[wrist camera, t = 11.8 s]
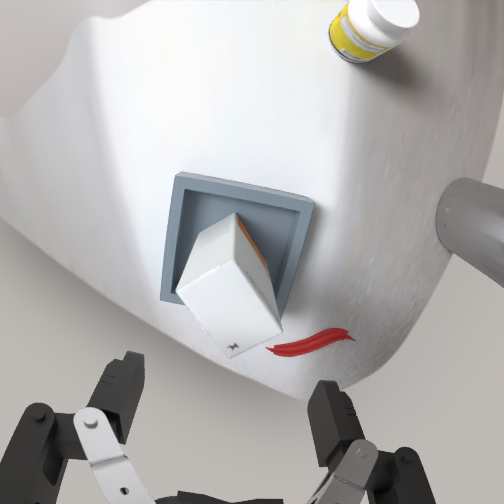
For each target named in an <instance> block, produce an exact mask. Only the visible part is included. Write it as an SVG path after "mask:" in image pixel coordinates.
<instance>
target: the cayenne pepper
mask: <svg viewBox="0 0 504 504" xmlns="http://www.w3.org/2000/svg"><path fill="white" fill-rule="evenodd" d="M347 333H348V331H346V330H344V329H339V328H331V329H327V330H324V331H322V332H319V333H317V334H315V335H313V336H311V337H309V338H307V339H304V340H300V341H297V342H293V343H288V344H281V345H274V347H275V348H267V347H266V348H267V349H268V350H270V351H271V352H273V353H274V354H275V355H278V356H284V357H292V356H298V355H302V354H306V353H309V352H312V351H314V350H317V349H319V348H321V347H324V346H326V345H328V344H331V343H333V342H335V341H339V340H344V339H351V340H354V339H353V338H351V337H350V336H348V335H347ZM354 341H355V340H354Z"/></svg>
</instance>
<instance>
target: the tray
mask: <svg viewBox="0 0 504 504" xmlns="http://www.w3.org/2000/svg"><path fill="white" fill-rule="evenodd" d="M313 207H314V202H313V201H312V200H310V199H309V198H308V197H306V196H302V195H298V194H293V193H289V192H284V191H280V190H275V189H271V188H266V187H261V186H256V185H251V184H246V183H241V182H236V181H231V180H226V179H221V178H215V177H210V176H204V175H198V174H192V173H186V172H180V173H178V174H176V175H175V179H174V185H173V191H172V198H171V204H170V211H169V219H168V226H167V234H166V242H165V251H164V260H163V270H162V281H161V292H160V300H161V301H166V302H171V303H176V304H181V305H185V304H184V302H183V301H182V300H181V299H180V297H179V296H178V295H177V293H176V288H177V286H178V283H179V281H180V279H181V276H182V274H183V271H184V269H185V266H186V264H187V261H188V259H189V256H190V254H191V251H192V249H193V246H194V244H195V241H196V239H197V236H198V234H199V233H200V232H201V231H203V230H205V229H207V228H208V227H210V226H212V225H213V224H215V223H217V222H219V221H220V220H222V219H224V218H226V217H227V216H229V215H231V214H232V213H234V212H236V213H237V215H238V216H239V218H240V220H241V221H242V223H243V225H244V227H245V228H246V230H247V232H248V233H249V235H250V237H251V238H252V240H253V242H254V243H255V245H256V246H257V248H258V249H259V251H260V253H261V254H262V256H263V257H264V259H265V260H266V262H267V266H268V270H269V275H270V279H271V283H272V287H273V291H274V295H275V300H276V304H277V308H278V312H279V317H280V321H281V318H282V315H283V312H284V309H285V305H286V302H287V299H288V295H289V292H290V289H291V285H292V282H293V279H294V275H295V272H296V268H297V265H298V262H299V258H300V255H301V251H302V247H303V244H304V240H305V237H306V233H307V229H308V226H309V222H310V218H311V215H312V211H313Z"/></svg>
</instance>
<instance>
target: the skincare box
mask: <svg viewBox="0 0 504 504" xmlns="http://www.w3.org/2000/svg"><path fill="white" fill-rule="evenodd" d="M176 293H177V295H178V296H179V297H180V299H181V300H182V301H183V302H184V304H185V305H186V306H187V308H188V309H189V310H190V312H191V313H192V314H193V315H194V317H195V318H196V320H197V321H198V323H199V325H200V326H201V327H202V329H203V330H204V331H205V332H206V333H207V334H208V335H209V336H210V337H211V338H212V340H213V341H214V342H215V343H216V344H217V345H218V347H219V348H220V349H221V350H222V351H223V353H224V354H225V355H226V356H227V357H228V358H232V357H234V356H236V355H238V354H240V353H242V352H244V351H246V350H249V349H251V348H253V347H255V346H257V345H259V344H261V343H263V342H265V341H267V340H269V339H271V338H273V337H275V336H277V335H279V334H281V333H282V332H283V330H282V325H281V321H280V317H279V312H278V308H277V304H276V300H275V295H274V291H273V287H272V283H271V279H270V275H269V270H268V266H267V262H266V260H265V259H264V257H263V256H262V254H261V253H260V251H259V249H258V248H257V246H256V245H255V243H254V242H253V240H252V238H251V237H250V235H249V233H248V232H247V230H246V228H245V227H244V225H243V223H242V221H241V220H240V218H239V216H238V215H237V213H236V212H234V213H232V214H231V215H229V216H227V217H226V218H224V219H222V220H220V221H219V222H217V223H215V224H213V225H212V226H210V227H208V228H207V229H205V230H203V231H201V232H200V233H199V234H198V236H197V239H196V241H195V244H194V246H193V249H192V251H191V254H190V256H189V259H188V261H187V264H186V266H185V269H184V271H183V274H182V276H181V279H180V281H179V283H178V286H177V288H176Z"/></svg>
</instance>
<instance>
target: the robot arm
mask: <svg viewBox="0 0 504 504" xmlns="http://www.w3.org/2000/svg"><path fill="white" fill-rule="evenodd" d="M436 229H437V234H438V237H439V239H440V241H441V243H442V244H443V245H444V247H445V248H447V249H448V250H450V251H451V252H453V253H454V254H456V255H457V256H459V257H460V258H462V259H463V260H465V261H466V262H468V263H469V264H471V265H472V266H474V267H475V268H476V269H478V270H479V271H481V272H482V273H484V274H485V275H487V276H488V277H489V278H491V279H492V280H494V281H495V282H496V283H498V284H499V285H501V286H502V287H503V288H504V189H501V188H498V187H495V186H492V185H488V184H485V183H482V182H479V181H475V180H472V179H467V178H464V179H459V180H457V181H455V182H454V183H452V184H451V185H450V186H449V187H448V188H447V189H446V191H445V192H444V194H443V196H442V198H441V200H440V203H439V205H438V210H437V214H436ZM144 372H145V369H144V355H143V354H139V353H136V352H132V351H127V353H126V355H125V357H124V359H123V361H122V360H118V359H114V360H113V361H112V362H110V363H109V364H108V365H107V366H106V368H105V370H104V372H103V375H102V376H101V378H100V381H99V382H98V384H97V386H96V388H95V390H94V392H93V395H92V396H91V399H90V401H89V403H88V405H87V406H86V407H85V408H82V409H80V410H79V411H78V412H76V413H74V414H64V413H54V412H53V410H52V408H51V407H49V406H48V405H46V404H44V403H33V404H31V405H29V406H28V407H27V408H26V410H25V412H24V413H23V415H22V417H21V419H20V421H19V423H18V426H17V427H16V429H15V432H14V434H13V436H12V438H11V440H10V442H9V445H8V447H7V449H6V451H5V453H4V456H3V458H2V460H1V463H0V504H56V500H57V496H58V493H59V489H60V486H61V482H62V479H63V476H64V472H65V469H66V466H67V462H68V459H79V460H88V461H89V464H90V466H91V468H92V471H93V473H94V475H95V478H96V480H97V482H98V484H99V486H100V488H101V490H102V492H103V494H104V496H105V498H106V500H107V502H108V504H283V499H254V500H248V501H242V502H235V503H230V502H226V501H223V500H220V499H216V498H213V497H210V496H207V495H204V494H196V493H190V492H183V491H178V494H177V496H169V497H164V498H159V499H157V500H153V498H152V497H151V495H150V493H149V492H148V491H147V489H146V487H145V486H144V484H143V482H142V481H141V479H140V477H139V476H138V474H137V472H136V470H135V469H134V467H133V465H132V464H131V462H130V460H129V458H128V457H127V456H125V454H124V453H123V451H122V449H121V447H120V445H119V443H120V444H126V441H127V437H128V434H129V431H130V428H131V425H132V421H133V418H134V415H135V412H136V409H137V406H138V403H139V400H140V397H141V394H142V391H143V387H144V379H145V373H144ZM307 411H308V417H309V421H310V426H311V431H312V435H313V440H314V444H315V449H316V454H317V458H318V463H319V467H328V470H329V471H328V473H327V474H326V475H325V477H324V478H323V480H322V481H321V483H320V484H319V486H318V487H317V489H316V491H315V492H314V493H313V495H312V496H311V498H310V499H309V500H308V502H307V503H306V504H360V502H361V500H362V498H363V496H364V494H365V490H366V491H367V495H368V500H369V504H436V502H435V499H434V496H433V494H432V491H431V488H430V485H429V482H428V480H427V477H426V474H425V471H424V468H423V466H422V463H421V461H420V458H419V456H418V454H417V452H416V451H414V450H413V449H411V448H409V447H401V448H399V449H398V450H397V451H396V452H395V453H391V452H385V451H380V450H378V449H377V447H376V446H375V445H374V444H373V443H371V442H370V441H368V440H366V439H365V436H364V434H363V431H362V428H361V425H360V422H359V420H358V417H357V416H356V412H355V409H354V407H353V403H352V401H351V399H350V398H349V396H348V395H347V394H346V393H345V392H340V390H339V387H338V385H337V382H336V381H325V380H320V381H319V382H318V384H317V386H316V388H315V390H314V392H313V394H312V396H311V398H310V400H309V402H308V409H307Z"/></svg>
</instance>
